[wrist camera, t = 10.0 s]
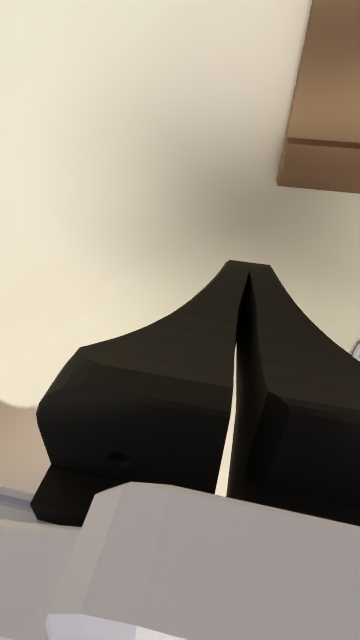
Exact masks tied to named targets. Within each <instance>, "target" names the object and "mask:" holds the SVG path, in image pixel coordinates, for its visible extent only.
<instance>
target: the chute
mask: <svg viewBox="0 0 360 640" xmlns="http://www.w3.org/2000/svg"><path fill="white" fill-rule="evenodd" d="M277 186H286V187H296V188H307V189H317V190H328V191H338V192H349V193H359V194H360V0H313V2H312V7H311V12H310V17H309V22H308V27H307V32H306V37H305V42H304V47H303V52H302V57H301V62H300V67H299V72H298V77H297V82H296V87H295V92H294V97H293V102H292V107H291V112H290V117H289V122H288V127H287V132H286V137H285V142H284V147H283V152H282V157H281V162H280V167H279V172H278V177H277Z"/></svg>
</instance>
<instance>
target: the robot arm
mask: <svg viewBox="0 0 360 640" xmlns="http://www.w3.org/2000/svg"><path fill="white" fill-rule="evenodd" d="M236 342H237V361H236V415H235V424H234V434H233V443H232V452H231V461H230V469H229V478H228V487H227V495H226V497H223V496H219V495H214V494H215V489H216V485H217V480H218V475H219V470H220V465H221V460H222V455H223V450H224V445H225V440H226V435H227V430H228V425H229V420H230V414H231V405H232V396H233V376H234V354H235V346H236ZM36 416H37V423H38V427H39V430H40V433H41V436H42V439H43V442H44V445H45V447H46V450H47V453H48V456H49V459H50V462H51V465H50V467H49V469H48V471H47V473H46V475H45V477H44V478H43V480H42V482H41V484H40V486H39V488H38V490H37V492H36V493H35V494H34V493H30V492H26V491H21V490H17V489H13V488H9V487H5V486H0V640H360V343H359V344H358V345H357V347H356V349H355V351H354V353H353V355H350V354H349V353H348V352H346V351H345V350H344V349H342V348H341V347H340V346H338V345H337V344H336V343H335V342H333V341H332V340H331V339H330V338H329V337H327V336H326V335H325V334H324V333H323V332H322V331H321V330H320V329H319V328H318V327H317V326H316V325H315V324H314V323H313V322H312V321H311V320H310V319H309V318H308V317H307V316H306V315H305V314H304V313H303V312H302V310H301V309H300V308H299V307H298V306H297V305H296V303H295V302H294V301H293V299H292V298H291V297H290V295H289V294H288V293H287V291H286V290H285V288H284V287H283V285H282V284H281V282H280V281H279V279H278V277H277V276H276V274H275V272H274V271H273V269H272V268H271V266H270V265H265V264H257V263H249V262H241V261H233V260H229V261H228V262H226V263H225V265H224V266H223V268H222V269H221V270H220V272H219V273H218V274H217V275H216V276H215V277H214V278H213V280H212V281H211V282H210V283H209V284H208V285H207V286H206V287H205V288H204V289H203V290H201V291H200V292H199V293H198V294H197V295H196V296H194V297H193V298H192V299H191V300H190V301H188V302H187V303H186V304H185V305H183V306H182V307H180V308H179V309H177V310H176V311H174V312H173V313H171V314H170V315H168V316H166V317H164V318H162V319H160V320H158V321H156V322H154V323H152V324H150V325H148V326H146V327H144V328H141V329H139V330H136V331H134V332H131V333H128V334H126V335H123V336H120V337H117V338H114V339H110V340H106V341H103V342H99V343H95V344H92V345H88V346H84V347H80V348H79V349H78V350H77V352H76V353H75V354H74V355H73V356H72V357H71V359H70V360H69V361H68V362H67V363H66V365H65V366H64V367H63V369H62V370H61V371H60V373H59V374H58V376H57V377H56V379H55V380H54V382H53V383H52V385H51V386H50V388H49V389H48V391H47V392H46V394H45V395H44V397H43V398H42V400H41V401H40V403H39V406H38V409H37V412H36Z"/></svg>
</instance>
